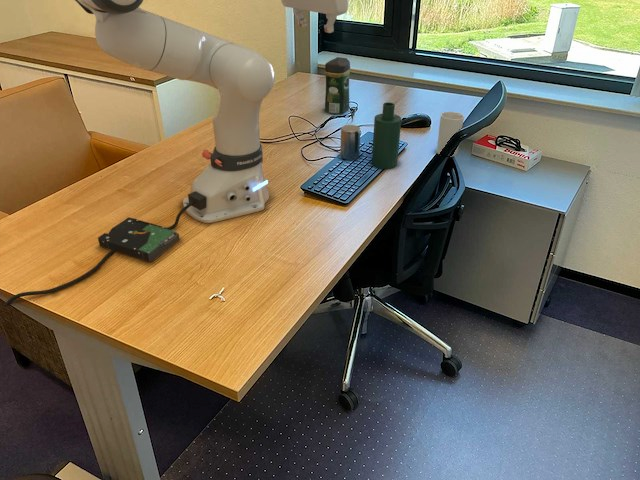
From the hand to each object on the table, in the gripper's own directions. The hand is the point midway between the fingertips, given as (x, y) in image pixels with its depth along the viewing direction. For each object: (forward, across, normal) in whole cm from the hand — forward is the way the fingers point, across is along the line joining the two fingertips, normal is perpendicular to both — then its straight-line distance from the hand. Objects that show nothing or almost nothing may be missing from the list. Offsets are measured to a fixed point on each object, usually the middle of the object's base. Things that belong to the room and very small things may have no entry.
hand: (315, 29), depth 131 cm
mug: (+43, +19, +35) cm, 59 cm away
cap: (+40, 0, +10) cm, 41 cm away
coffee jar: (+43, -30, +36) cm, 63 cm away
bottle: (+41, +10, +14) cm, 44 cm away
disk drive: (+33, -2, -59) cm, 68 cm away
